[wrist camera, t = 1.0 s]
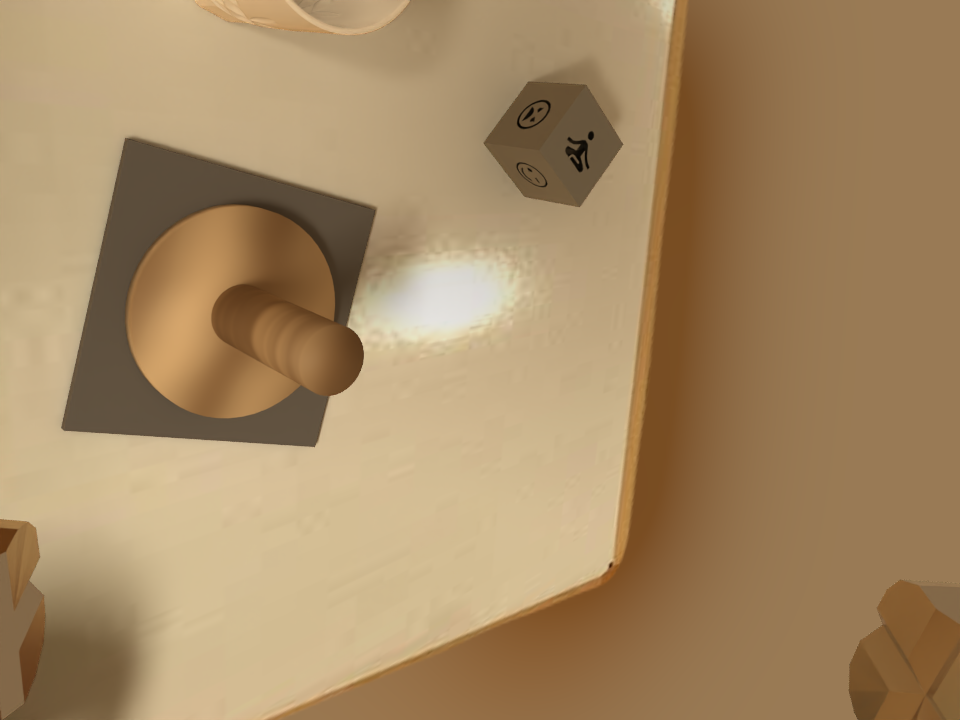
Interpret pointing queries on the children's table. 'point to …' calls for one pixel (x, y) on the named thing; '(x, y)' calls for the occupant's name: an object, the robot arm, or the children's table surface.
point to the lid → (237, 314)
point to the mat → (128, 234)
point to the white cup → (309, 14)
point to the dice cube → (554, 142)
